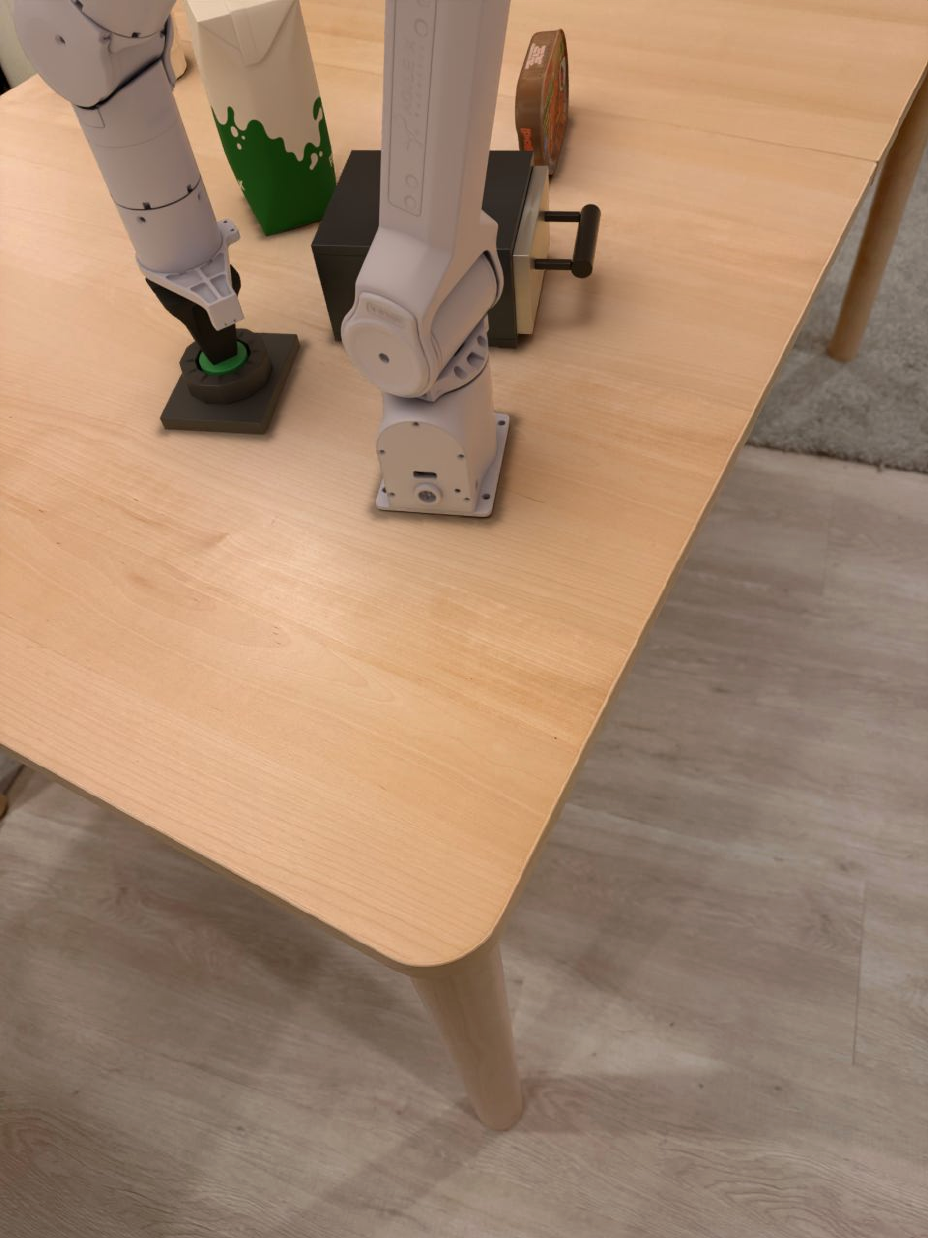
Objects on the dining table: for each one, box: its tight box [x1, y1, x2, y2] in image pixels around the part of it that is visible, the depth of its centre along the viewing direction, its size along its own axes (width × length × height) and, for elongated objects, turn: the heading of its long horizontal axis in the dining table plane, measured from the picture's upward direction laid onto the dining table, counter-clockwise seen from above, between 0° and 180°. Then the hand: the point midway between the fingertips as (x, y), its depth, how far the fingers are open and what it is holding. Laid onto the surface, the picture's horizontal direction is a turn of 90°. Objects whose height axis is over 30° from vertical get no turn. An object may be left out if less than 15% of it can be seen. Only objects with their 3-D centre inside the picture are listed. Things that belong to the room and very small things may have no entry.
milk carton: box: [182, 0, 337, 237], centre depth 77 cm, size 9×9×20 cm
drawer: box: [512, 166, 602, 335], centre depth 72 cm, size 18×11×7 cm, turn 80°
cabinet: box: [310, 149, 534, 349], centre depth 73 cm, size 15×13×9 cm
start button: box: [199, 341, 249, 375], centre depth 70 cm, size 4×4×2 cm
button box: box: [159, 327, 301, 436], centre depth 71 cm, size 10×8×3 cm
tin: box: [514, 28, 570, 176], centre depth 84 cm, size 15×3×8 cm, turn 168°
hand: (222, 355), depth 70 cm, fingers closed, pressing on start button
